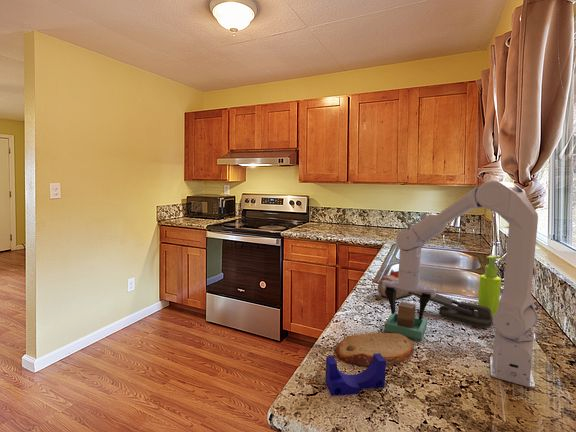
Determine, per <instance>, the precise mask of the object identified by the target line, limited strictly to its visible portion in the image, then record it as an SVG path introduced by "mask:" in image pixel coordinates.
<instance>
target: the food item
mask: <svg viewBox="0 0 576 432" xmlns="http://www.w3.org/2000/svg"><path fill="white" fill-rule="evenodd" d="M398 274H399V270H397V271H395V270H393V269H391V270H390V272H389V274H388V275H383V276H381V278H380V279H379V280H378V281H377V283H378V284H377V292H378V294H380V295H381V296H382V297H384V298H386V299H388V298H387V296H386V294H385V290H386V288H382V282H383V281H384V280H386V281H398ZM407 296H412V295H411V294H409V293H408V292H407V291H401V290H397V292H396V300H398V299H401V298H403V297H407Z"/></svg>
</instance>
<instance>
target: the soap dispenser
mask: <svg viewBox="0 0 576 432" xmlns="http://www.w3.org/2000/svg"><path fill="white" fill-rule="evenodd" d="M503 258H504V257H503V256H498V255H492V254H491V255H487V256H486V259H488V264H487V265H484V267H485V268H484V274H480V275H479V285H478V298H477V299H478V300H477V302H478V303H477V305H480V306H485V307H488V308H489V309H490V310H491V314H492V319H493V315H494V314H495V312H496V311H497V310H498V306H499V301H500V298H501V287H502V286H501V285H502V278H501V277H500V276H498V266H496V260H497V259H502V260H503Z"/></svg>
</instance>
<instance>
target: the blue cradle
mask: <svg viewBox="0 0 576 432" xmlns="http://www.w3.org/2000/svg"><path fill="white" fill-rule="evenodd" d="M386 368H387V366H386V360H385V359H384V358H383V356H382V355H381V354H380V353H378V354H373V359H372V362H371V363H370V365H369V366H368V367H366V369H364V370H363V371H361V372H359V373H356V374H348V373H344V372H342V371H341V370H339V369H338V363H337V361H336V359H335V357H334V355H329V356H326V357H325V385H326V387H327V390H328V392H329V395H330V396H331V397H336V396H337V397H338V396H349V395H360V394H361V390H365V389H366V390H369V389H380V388H385V387H386V372H387V371H386Z"/></svg>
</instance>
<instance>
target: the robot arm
mask: <svg viewBox="0 0 576 432" xmlns="http://www.w3.org/2000/svg"><path fill="white" fill-rule="evenodd" d="M481 208H484V209H487V210H489V211H492V212H493V213H495V214H497V215H499V216H500V217H501V218H502V219H503V220H504V221H506V222H507V223H508V233H507V244H506V256H505V257H506V258H505V271H504V280H503V290H502V291H503V292H502V294H501V295H500V300H499V306H498V310H497V311H496V312H495V314H494V315H493V319H492V325H493V327H494V340H493V348H492V349H493V352H492V356H490V357H489V372H490V376H491V377H492V378H494V379H498V380H502V381H506V382H510V383H512V384H515V385H516V384H517V385H520V386H523V387H528V388H531V389H535V388H536V384H535V380H534V376H533V371H532V364H533V363H532V361H533V360H532V359H533V348H534V339H535V336H534V335H535V334H534V333H533V330H532V328H533V327H534V326H535V325H536V324H537V322H538V313H537V311H536V309H535V304H534V303H535V299H534V297H533V295H532V288H533V287H532V286H533V279H534V278H533V276H534V268H535V267H534V265H535V255H536V244H537V233H538V224H539V223H538V221H539V216H538V213H537V210H536V209H535V208H534V206H533V204H532V203H531V201H530V199H528V197H527V194H526V191H525V189H523V188H521V187H520V186H518V185H517V184H516V183H514V182H512V181H497V180H488V181H485V182H483V183H481V184H480V185H479V186H476V187H474V188H472V189H470V190H469V191H468V192H467V193H465V194H464V195H463V196H461V197H460V198H458V199H457V200H456V201H454V202H453V203H451V204H450V205H448V207H446V208H445V209H444V210H442V211H441V212H439V213H432V212H431V213H424V215H422V219H421V220H419V221H418V222H416V223H412V224H410V225H409V229H407V228H406V229H405V228H404V229H401V230H400V231H399V232H398V233H397V234H396V237H395V238H396V239H395V240H396V245H397V246H398V247H399V260H398V271H399V274H398V281H386V280H384V281H383V282H382V288H386V290H385V294H386V296H387V298H386V299H387V300H388V303H389V306H390V311H391V312H390V313H391V314H394V313H396V310H397V309H396V308H397V307H396V306H397V305H396V301H397V299H396V292H397V290H401V291H407V292H412V293H418V294H422V295H421V296H420V297H419V310H418V311H419V312H418V318H419V320H422V319H424V317H423V316H424V312H425V309H426V307H427V305H428V303H429V302H430V301H429V300H430V298H431V297H435V295H436V294H437V293H436V291H437V289H436V288H434V287H429V286H425V285H421V284H420V274H421V271H420V270H421V256H422V255H421V254H422V248H423V247H424V246H425V245H426V243H427V242H429V241H430V240H432V239H434V238H435V237H437V236H439V235H440V234H442V233H443V232H445V231H446V227H447V225H448V224H450V223H451V222H452V221H454V220H456V219H458V218H460V217H462V216H463V215H464V214H467V213H469V212H470V211H472V210H474V209H481ZM391 314H390V315H391Z"/></svg>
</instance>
